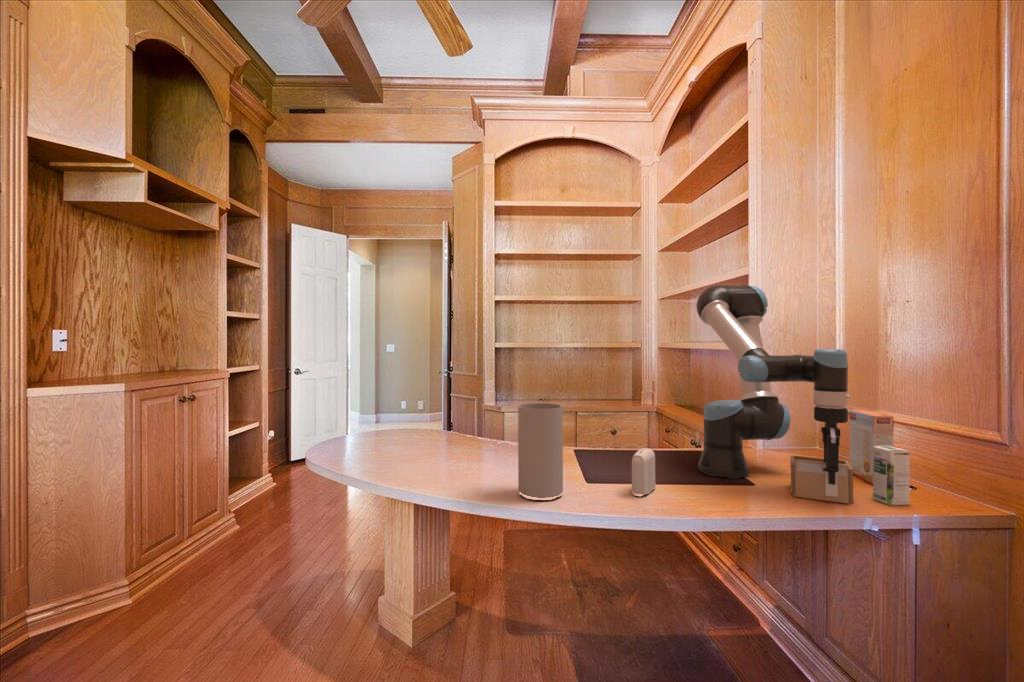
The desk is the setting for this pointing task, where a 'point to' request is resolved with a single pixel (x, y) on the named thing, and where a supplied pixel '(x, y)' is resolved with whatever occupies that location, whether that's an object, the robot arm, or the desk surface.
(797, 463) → the flap
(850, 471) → the carton
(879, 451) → the syrup box
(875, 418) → the cracker box
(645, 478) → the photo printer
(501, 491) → the desk surface
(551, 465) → the cylinder vase
